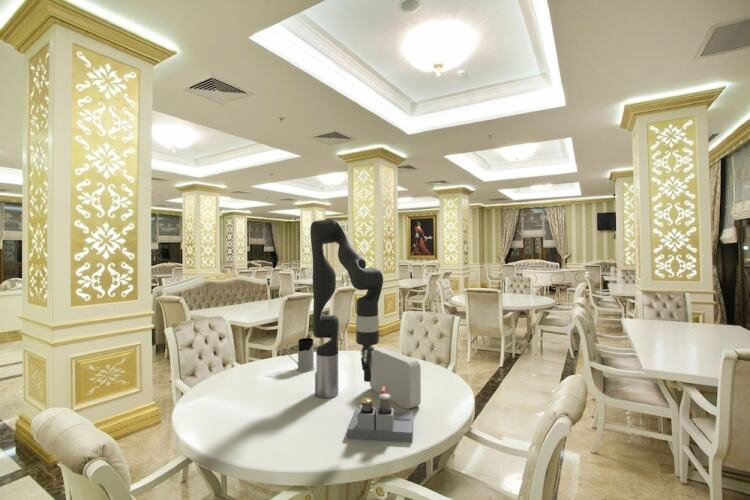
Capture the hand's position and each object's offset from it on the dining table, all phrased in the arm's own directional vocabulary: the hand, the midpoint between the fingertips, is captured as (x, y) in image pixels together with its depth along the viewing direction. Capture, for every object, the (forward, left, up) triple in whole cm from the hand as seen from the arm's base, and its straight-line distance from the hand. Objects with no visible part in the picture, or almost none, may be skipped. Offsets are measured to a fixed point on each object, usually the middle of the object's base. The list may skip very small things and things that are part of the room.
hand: (367, 380), depth 125 cm
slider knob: (-3, +9, -15) cm, 17 cm away
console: (+4, +4, -18) cm, 19 cm away
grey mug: (-44, +65, -18) cm, 80 cm away
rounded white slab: (+6, +33, -18) cm, 38 cm away
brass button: (0, 0, -11) cm, 11 cm away
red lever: (+5, +6, -15) cm, 16 cm away
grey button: (+6, 0, -10) cm, 11 cm away
